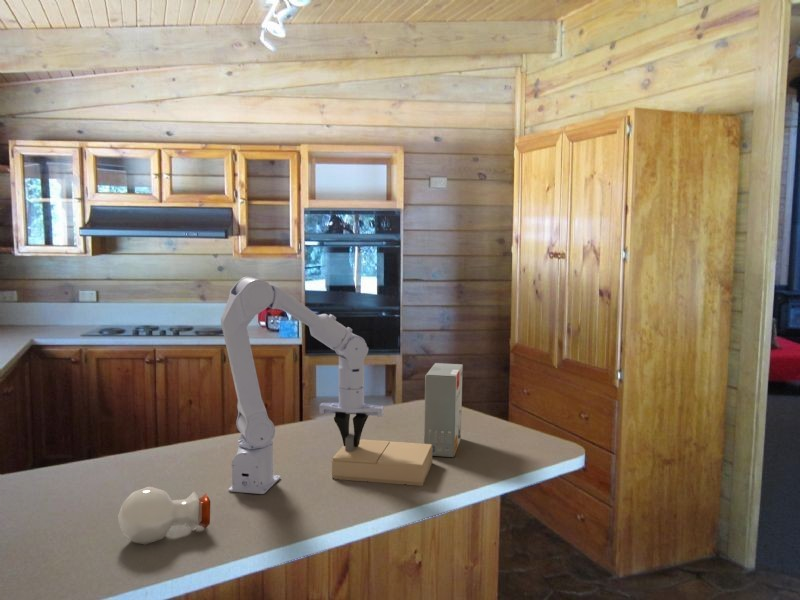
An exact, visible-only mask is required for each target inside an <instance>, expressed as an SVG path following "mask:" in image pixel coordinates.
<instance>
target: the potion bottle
mask: <svg viewBox="0 0 800 600" xmlns="http://www.w3.org/2000/svg"><path fill="white" fill-rule="evenodd" d="M117 521H118V525H119V527H120V530H121V533H122V535H124V536H125V537H126V538H127V539H128V540H130V541H131V542H133V543H135V544H142V545H145V546H147V545H150V544H152V543H154V542H158V541H160V540H163V539H164V538H165V537H166V535H167V534H168V532H169V531H170V529H171V528H172V527H174V526H186V527H187V528H188V529H190V531H192V532H194V531H195V530H196V529H197V528H198V527H199V526H200V527H202V528H203V529H205V530H206V529H207V528H208V526H209V525H211V499H210V497H209V496H208V495H207V493H205V494H203V496H202V497H199V495H198V494H197V493H196V491H193V492H192V493H191V494H190V495H189V496H188V497H187V498H185V499H172V498H171V497H170V495H169V494H168V493H167V492H166V490H163V489H160V488H157V487H152V486H146V487H144V488H141V489H138V490H135V491H133V492H131V493H130V494H129V496H128V497H127V498H126V499H125V500H124V501H123V502H122V505H121V506H120V510H119V511H118V515H117Z"/></svg>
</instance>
